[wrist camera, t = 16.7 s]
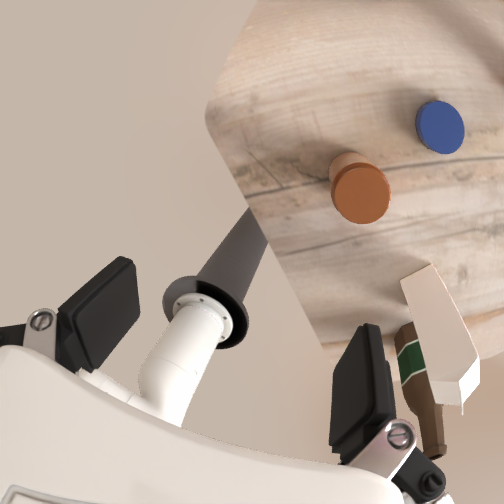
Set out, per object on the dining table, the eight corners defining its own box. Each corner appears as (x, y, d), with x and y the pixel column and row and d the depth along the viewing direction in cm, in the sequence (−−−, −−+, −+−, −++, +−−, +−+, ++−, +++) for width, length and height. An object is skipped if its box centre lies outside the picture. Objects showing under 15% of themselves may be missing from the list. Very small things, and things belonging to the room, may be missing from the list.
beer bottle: (428, 346, 41) (450, 460, 20) (391, 351, 43) (400, 471, 23) (436, 316, 38) (471, 439, 17) (395, 321, 40) (415, 453, 20)
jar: (367, 202, 33) (382, 233, 24) (324, 191, 34) (324, 218, 25) (379, 159, 30) (400, 175, 21) (333, 146, 31) (339, 157, 22)
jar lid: (420, 93, 24) (424, 92, 23) (462, 113, 23) (468, 113, 22) (410, 142, 28) (415, 143, 26) (452, 159, 27) (458, 161, 25)
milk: (409, 306, 38) (437, 426, 19) (398, 279, 37) (432, 406, 18) (441, 290, 36) (485, 405, 17) (432, 261, 34) (487, 380, 15)
